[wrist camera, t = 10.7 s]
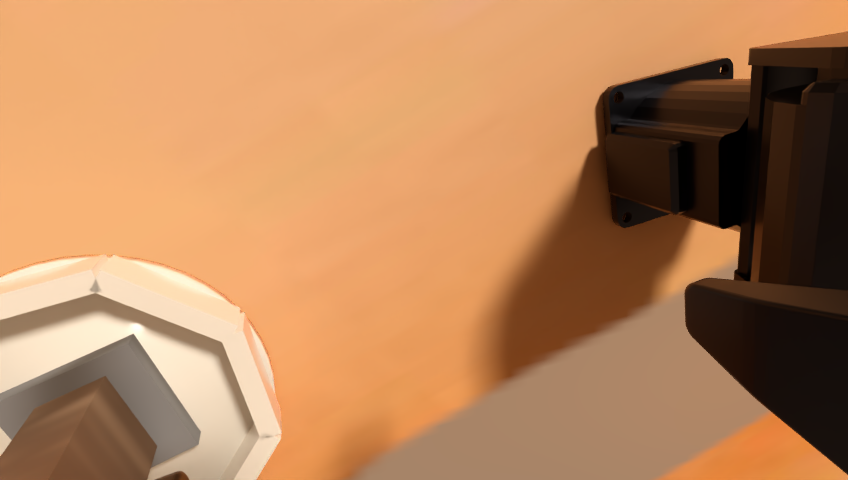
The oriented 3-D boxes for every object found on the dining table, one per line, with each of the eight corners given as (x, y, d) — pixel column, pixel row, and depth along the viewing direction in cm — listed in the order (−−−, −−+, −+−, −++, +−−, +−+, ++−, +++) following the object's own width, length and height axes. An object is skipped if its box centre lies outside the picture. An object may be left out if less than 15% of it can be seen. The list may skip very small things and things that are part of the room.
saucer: (217, 214, 19) (211, 230, 17) (309, 467, 23) (313, 503, 21) (-172, 318, 17) (-232, 350, 15) (11, 580, 21) (-16, 633, 19)
